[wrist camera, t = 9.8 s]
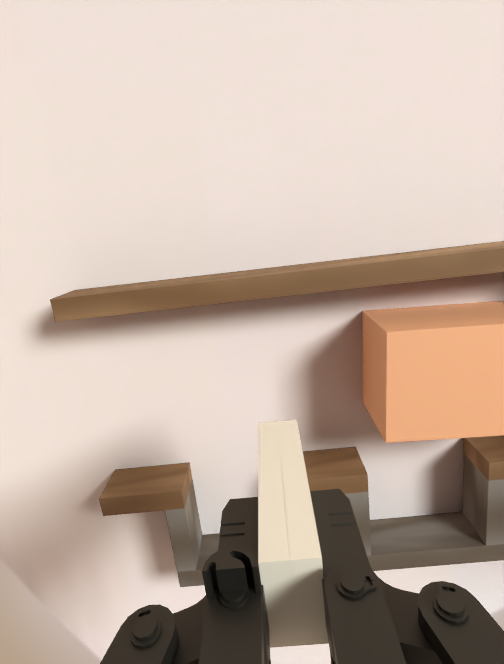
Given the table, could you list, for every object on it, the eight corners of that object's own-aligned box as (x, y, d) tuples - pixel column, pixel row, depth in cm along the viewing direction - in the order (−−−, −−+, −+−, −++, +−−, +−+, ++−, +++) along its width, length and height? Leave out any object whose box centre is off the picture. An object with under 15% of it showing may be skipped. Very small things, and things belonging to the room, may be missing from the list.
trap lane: (74, 290, 24) (40, 303, 21) (579, 232, 23) (643, 235, 19) (135, 555, 29) (116, 605, 26) (554, 518, 28) (600, 566, 24)
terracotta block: (361, 310, 25) (387, 332, 20) (496, 300, 25) (555, 320, 20) (362, 401, 26) (386, 442, 22) (489, 393, 26) (542, 432, 21)
